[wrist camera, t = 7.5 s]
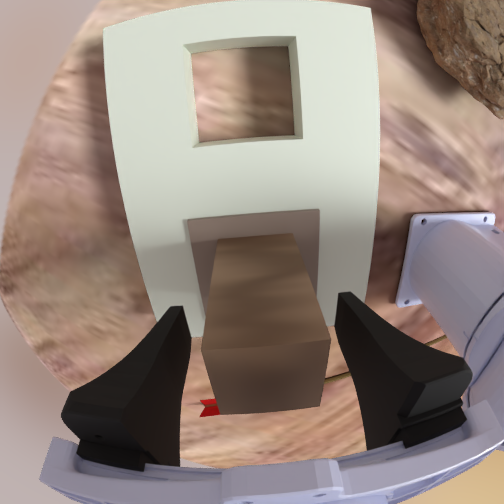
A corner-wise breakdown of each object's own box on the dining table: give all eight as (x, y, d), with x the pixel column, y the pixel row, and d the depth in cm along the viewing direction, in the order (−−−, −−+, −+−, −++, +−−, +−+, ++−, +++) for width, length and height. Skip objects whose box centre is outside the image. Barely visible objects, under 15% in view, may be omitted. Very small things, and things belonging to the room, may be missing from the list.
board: (354, 18, 12) (372, 6, 10) (350, 300, 21) (362, 324, 19) (120, 37, 12) (100, 27, 10) (169, 315, 21) (161, 340, 19)
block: (292, 232, 16) (331, 338, 8) (292, 294, 17) (319, 406, 10) (217, 239, 16) (200, 349, 8) (226, 299, 17) (220, 414, 10)
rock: (362, -29, 10) (395, -59, 6) (454, -41, 8) (489, -55, 3) (452, 136, 16) (500, 150, 11) (520, 94, 13) (561, 103, 9)
